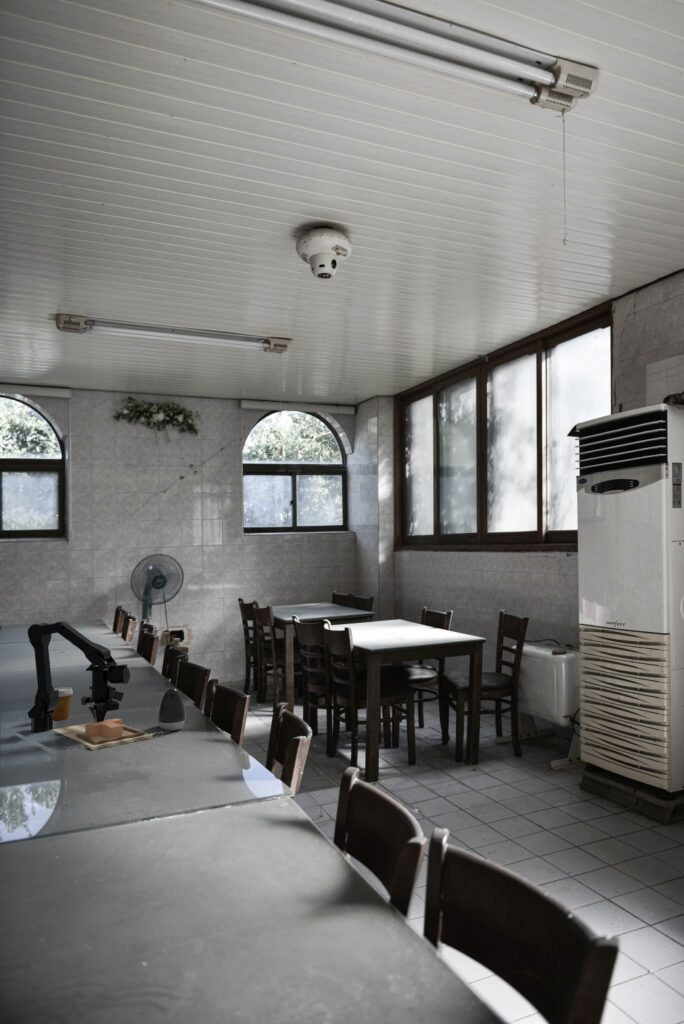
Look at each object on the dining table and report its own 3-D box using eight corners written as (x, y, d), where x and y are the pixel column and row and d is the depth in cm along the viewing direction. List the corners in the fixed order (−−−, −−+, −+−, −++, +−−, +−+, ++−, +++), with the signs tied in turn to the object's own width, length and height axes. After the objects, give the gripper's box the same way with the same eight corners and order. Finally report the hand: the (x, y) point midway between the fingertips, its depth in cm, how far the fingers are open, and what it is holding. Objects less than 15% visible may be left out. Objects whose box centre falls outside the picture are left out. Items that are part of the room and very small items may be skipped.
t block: (100, 741, 247) (100, 729, 247) (85, 735, 255) (85, 723, 256) (133, 735, 255) (133, 723, 255) (117, 729, 264) (117, 718, 264)
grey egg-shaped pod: (157, 734, 260) (157, 691, 261) (157, 727, 270) (157, 686, 271) (186, 731, 263) (186, 689, 264) (185, 725, 273) (185, 684, 274)
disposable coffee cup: (77, 717, 288) (77, 687, 288) (65, 723, 278) (66, 691, 279) (54, 717, 289) (54, 687, 289) (42, 723, 279) (42, 691, 280)
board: (92, 750, 240) (92, 744, 240) (51, 732, 264) (51, 727, 264) (152, 737, 255) (152, 732, 255) (108, 722, 279) (108, 717, 280)
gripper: (133, 683, 260) (132, 727, 260) (109, 677, 274) (109, 719, 273) (103, 687, 253) (103, 733, 252) (80, 681, 266) (80, 724, 265)
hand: (99, 727), depth 261 cm, fingers closed
